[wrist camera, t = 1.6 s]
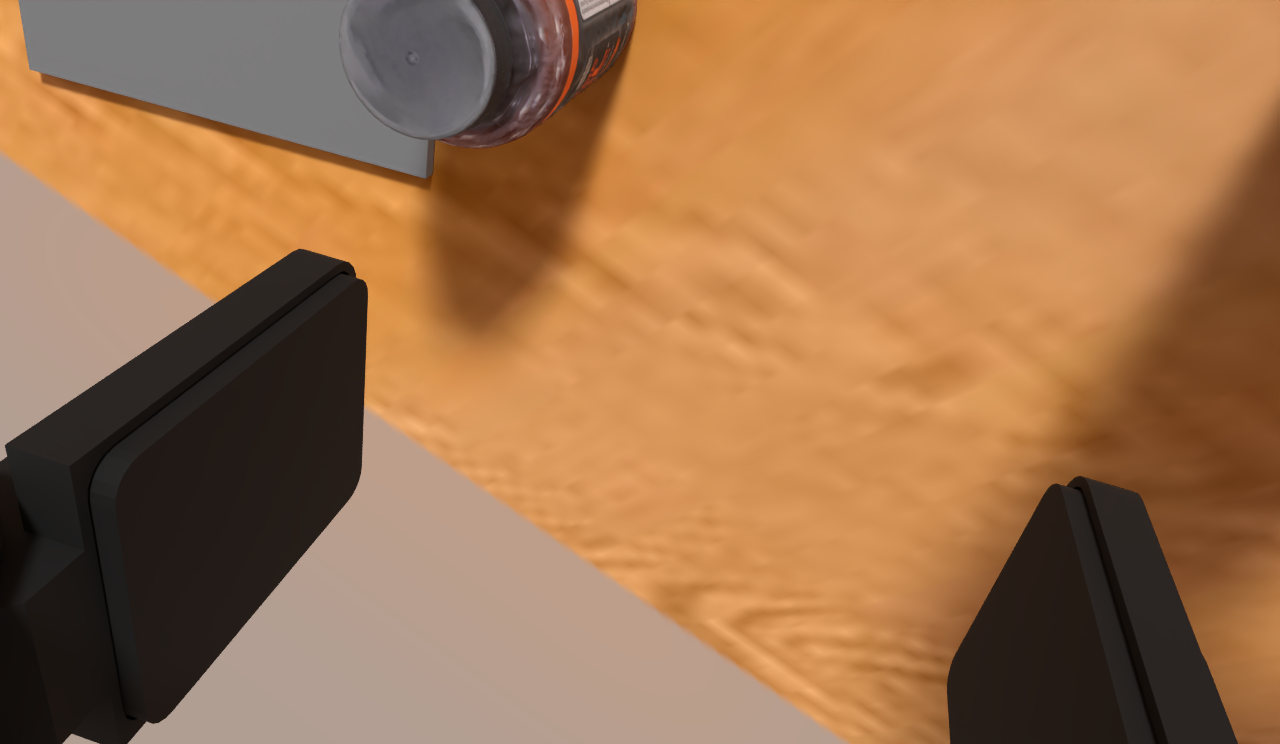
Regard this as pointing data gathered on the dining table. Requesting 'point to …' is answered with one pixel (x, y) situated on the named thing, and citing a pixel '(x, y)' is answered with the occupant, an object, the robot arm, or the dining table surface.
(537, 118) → the supplement bottle
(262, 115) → the mat
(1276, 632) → the dining table surface
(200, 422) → the robot arm
